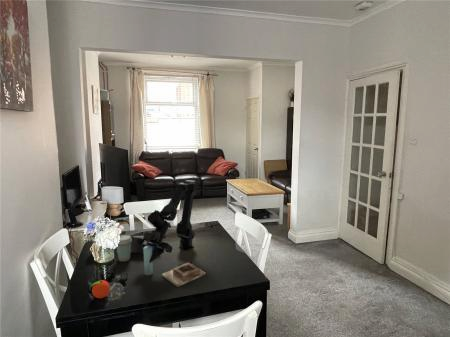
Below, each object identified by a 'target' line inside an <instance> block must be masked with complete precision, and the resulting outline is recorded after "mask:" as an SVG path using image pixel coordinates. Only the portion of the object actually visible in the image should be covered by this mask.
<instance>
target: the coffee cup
mask: <svg viewBox="0 0 450 337" xmlns="http://www.w3.org/2000/svg"><path fill="white" fill-rule="evenodd" d="M119 236H120V242H119V244H118V247H117V248H116V252H117V258H118V261H119V262H127V261H129V260H130V259H131V252H132V251H131V241H132V238H131V237H132V236H131V235H128V234H122V235H119Z"/></svg>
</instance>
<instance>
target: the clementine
mask: <svg viewBox="0 0 450 337" xmlns="http://www.w3.org/2000/svg"><path fill="white" fill-rule="evenodd" d="M91 287H92V289H91ZM90 289H91V292H92V296H93V297H95V298H97V299H103V298H105V297H107V296H108V294H109V293H110V290H111V285H110V283H109V282H108V281H107V280H103V279H102V280H98V281H95V282H93V283H92V284H91V285H90V286H89V290H90Z"/></svg>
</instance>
